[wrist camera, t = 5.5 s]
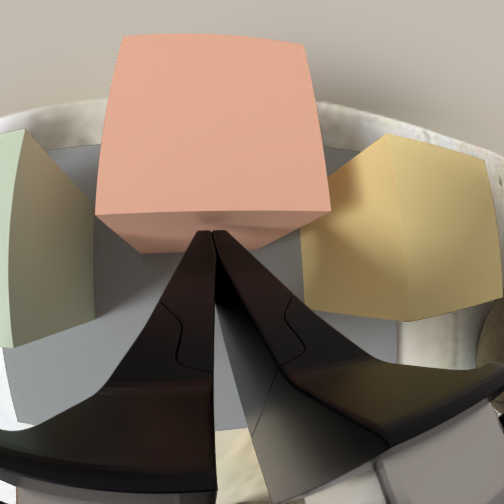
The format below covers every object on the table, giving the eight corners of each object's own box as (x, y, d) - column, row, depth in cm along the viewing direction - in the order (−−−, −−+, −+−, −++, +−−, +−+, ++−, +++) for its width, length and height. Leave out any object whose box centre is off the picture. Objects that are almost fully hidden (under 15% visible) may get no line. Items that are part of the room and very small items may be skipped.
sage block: (95, 319, 14) (13, 348, 6) (5, 316, 13) (-98, 329, 4) (94, 203, 15) (25, 128, 6) (6, 211, 13) (-86, 160, 5)
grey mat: (385, 388, 18) (395, 392, 17) (25, 415, 13) (17, 421, 12) (369, 160, 20) (378, 154, 19) (16, 163, 15) (8, 156, 14)
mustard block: (391, 297, 18) (502, 297, 10) (304, 308, 16) (409, 322, 8) (382, 203, 18) (483, 160, 10) (297, 200, 17) (386, 133, 9)
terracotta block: (256, 249, 16) (331, 211, 8) (140, 253, 15) (95, 215, 7) (250, 144, 17) (303, 45, 9) (143, 145, 16) (123, 36, 7)
